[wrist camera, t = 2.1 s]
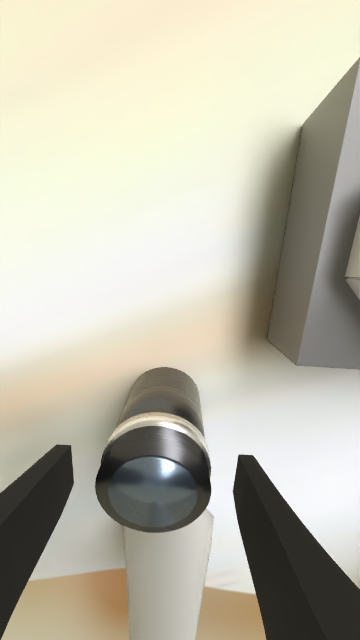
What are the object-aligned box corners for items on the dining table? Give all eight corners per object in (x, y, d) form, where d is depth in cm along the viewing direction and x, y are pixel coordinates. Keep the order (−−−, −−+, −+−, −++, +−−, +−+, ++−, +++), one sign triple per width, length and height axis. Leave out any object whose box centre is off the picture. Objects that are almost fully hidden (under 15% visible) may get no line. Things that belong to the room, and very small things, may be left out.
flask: (139, 562, 18) (90, 908, 8) (108, 497, 16) (0, 836, 7) (224, 545, 17) (277, 895, 8) (200, 476, 16) (231, 812, 6)
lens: (203, 368, 14) (220, 447, 8) (197, 430, 15) (208, 542, 9) (129, 363, 14) (88, 439, 8) (129, 426, 15) (93, 536, 9)
